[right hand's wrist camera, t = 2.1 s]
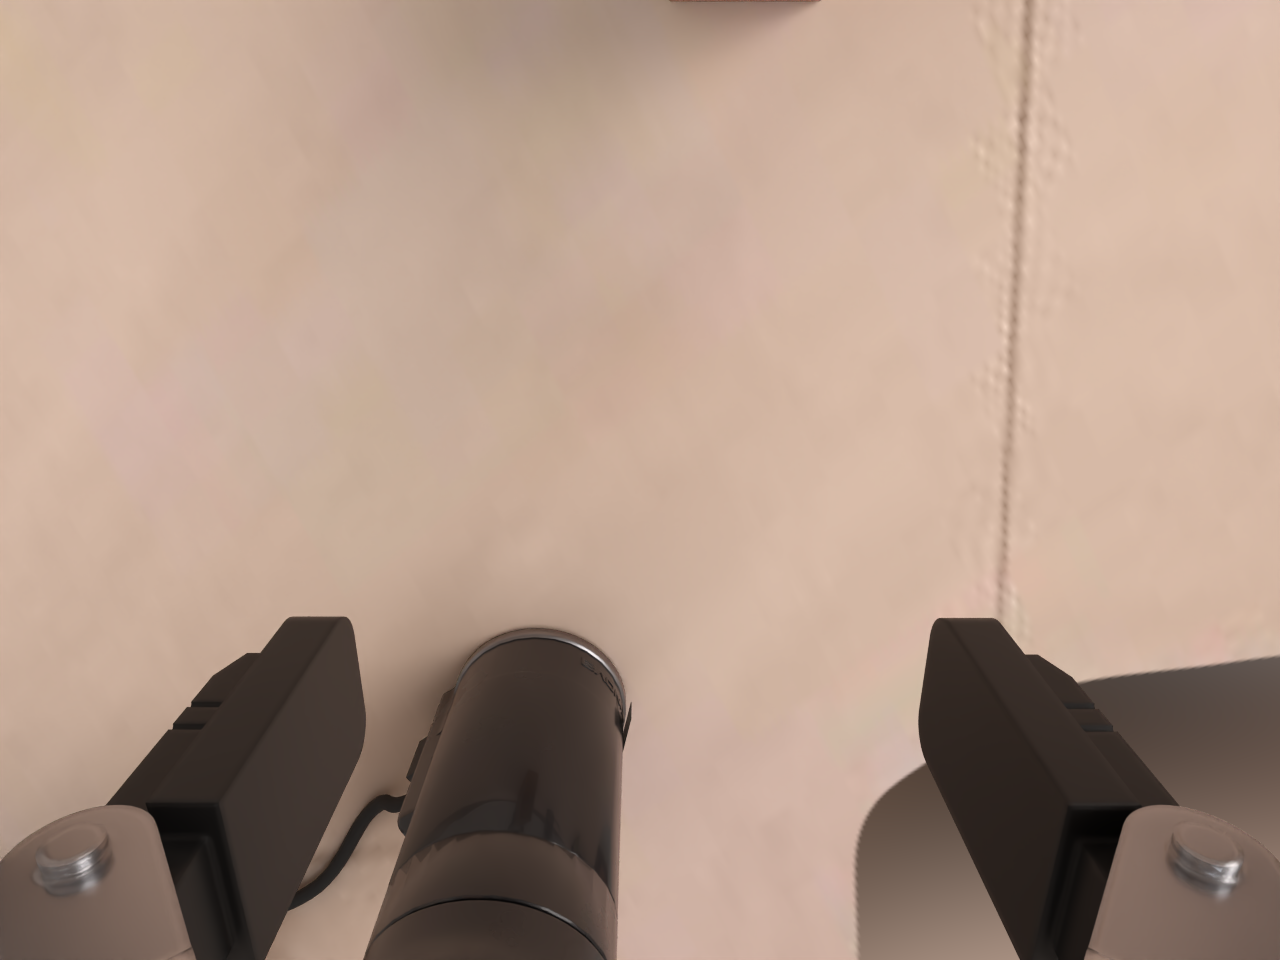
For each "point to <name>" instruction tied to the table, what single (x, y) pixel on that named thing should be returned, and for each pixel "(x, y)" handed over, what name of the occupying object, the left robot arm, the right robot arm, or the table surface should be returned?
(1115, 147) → the table surface
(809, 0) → the box
